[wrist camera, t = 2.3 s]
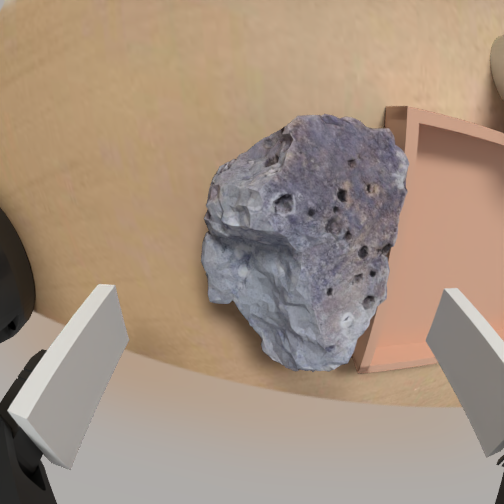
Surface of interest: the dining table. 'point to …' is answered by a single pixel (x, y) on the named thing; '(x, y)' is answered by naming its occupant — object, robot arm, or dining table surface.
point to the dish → (439, 236)
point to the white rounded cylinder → (498, 64)
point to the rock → (306, 236)
